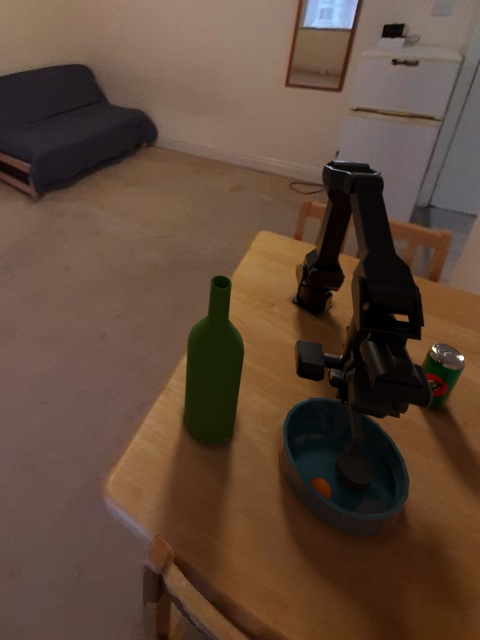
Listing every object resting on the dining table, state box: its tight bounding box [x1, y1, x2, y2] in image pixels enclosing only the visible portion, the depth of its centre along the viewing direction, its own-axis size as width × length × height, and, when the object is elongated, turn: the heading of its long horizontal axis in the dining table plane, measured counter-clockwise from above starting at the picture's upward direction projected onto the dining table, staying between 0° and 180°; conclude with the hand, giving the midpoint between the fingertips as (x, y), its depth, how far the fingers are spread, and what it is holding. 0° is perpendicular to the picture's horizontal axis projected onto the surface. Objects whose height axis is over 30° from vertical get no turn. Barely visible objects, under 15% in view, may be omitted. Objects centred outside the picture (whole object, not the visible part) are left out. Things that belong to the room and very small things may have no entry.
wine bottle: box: [183, 274, 245, 446], centre depth 66 cm, size 9×9×32 cm
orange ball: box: [310, 477, 331, 500], centre depth 61 cm, size 3×3×3 cm
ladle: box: [334, 388, 373, 492], centre depth 66 cm, size 16×5×7 cm, turn 162°
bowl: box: [278, 396, 410, 538], centre depth 64 cm, size 17×17×6 cm
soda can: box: [421, 342, 466, 410], centre depth 72 cm, size 5×5×12 cm
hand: (347, 403), depth 69 cm, fingers closed on ladle
